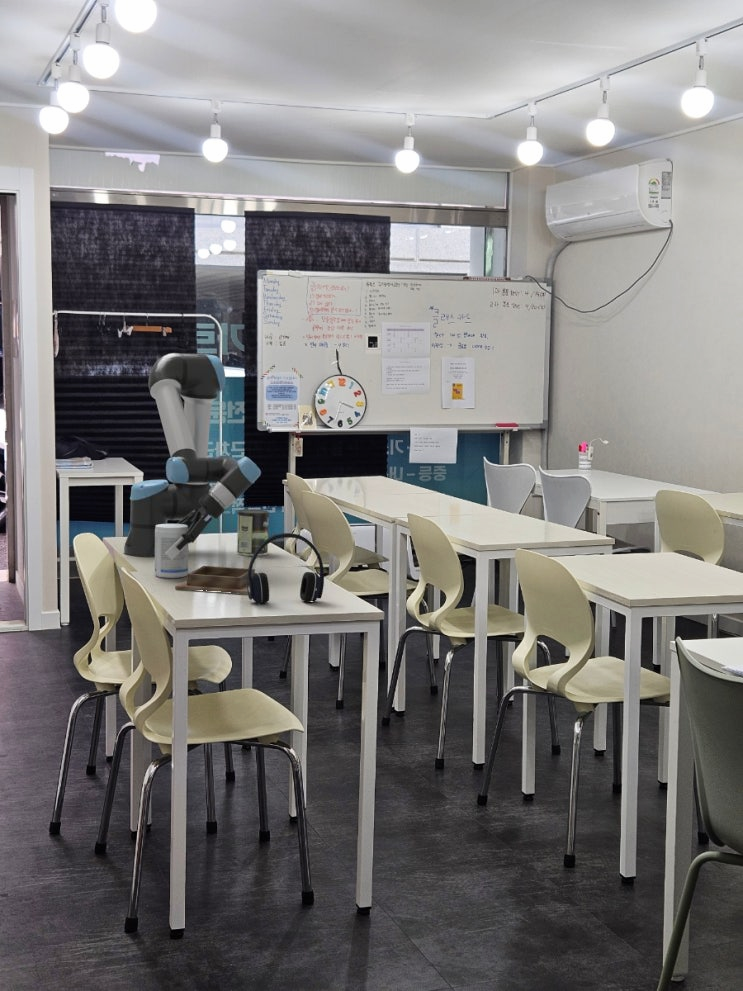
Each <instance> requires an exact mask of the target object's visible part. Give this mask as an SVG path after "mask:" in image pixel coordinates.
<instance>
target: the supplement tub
mask: <svg viewBox="0 0 743 991" xmlns="http://www.w3.org/2000/svg"><path fill="white" fill-rule="evenodd" d="M187 530H188V526H187V525H184V524H176V523H167V524H158V525H156V527H155V556H154V575H155V576H156V577H159V578H163V579H164V578H166V579H176V578H183V577H184V578H185V577H187V574H189V544H188V545H187V546H186V547H185V548H184V549H183V550H182V551H181V552H180V553H179V554H178V555H177V556H176V557H175V558H174V559H173V560H171V559H170V558H169V557H168V556H167V555H166V554H165V553H166V552H167V551H168V550H169V549H170V548H171V547H172V546H173V545H174V544H175V543H176V542H177V541H178V540H179V539H180V538H181V537H182V536H181V535H182V534H185V533H186V532H187ZM182 538H183V537H182ZM183 539H184V538H183Z"/></svg>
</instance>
